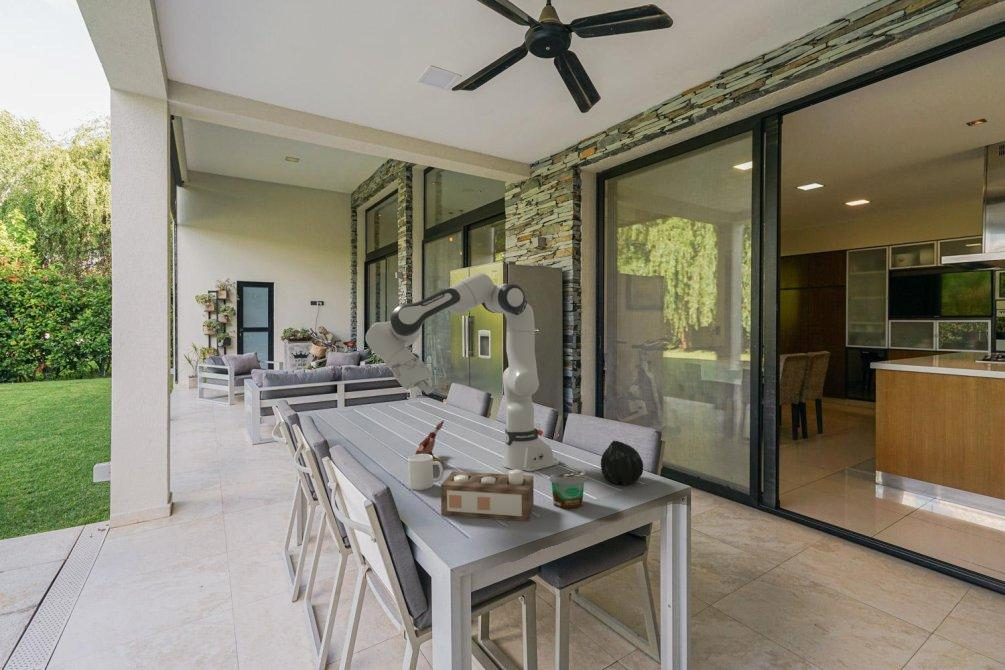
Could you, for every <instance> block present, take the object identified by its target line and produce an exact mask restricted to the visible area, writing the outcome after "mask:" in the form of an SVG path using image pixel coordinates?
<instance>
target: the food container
mask: <svg viewBox="0 0 1005 670" xmlns="http://www.w3.org/2000/svg"><path fill="white" fill-rule="evenodd" d="M548 481H550V482H551V490H552V500H553V506H554V507H555V508H558V509H563V510H576V509H579V508H581V507H582V506H583V500H584V490H585V489H584V488H585V482H586V481H587V474H586V471H585V470H584V469H583V468H582V469H581V471H578V472H565V473H563V474H560V475H555V474H552V473H551V474H550V477H549V480H548Z"/></svg>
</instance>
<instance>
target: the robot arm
mask: <svg viewBox="0 0 1005 670" xmlns="http://www.w3.org/2000/svg"><path fill="white" fill-rule="evenodd" d="M480 305H481V306H482V307H483V308H484V309H485V310H486V311H487V312H489V313H492V314H494V313H495V314H503V315H504V316H505V318H506V341H505V342H506V343H505V344H506V347H505V348H506V355H507V356H506V357H507V362H508V363H507V364H508V367H506V369H505V370H504V371H503V372H502V373H503V374H502V381H503V382H502V383H503V392H504V393H503V394H504V395H503V396H504V403H505V419H506V420H505V422H506V423H505V426H506V427H505V429H504V432H505V433H504V441H505V450H504V455H503V456H504V457H503V460H502V464H501V465H502V466H503V467H504V468H506V469H507V468H508V469H510V470H514V469H518V470H522V471H527V472H533V471H537V470H541V469H545V468H549V467H553V465H554V466H558V465H560V463H559V459H558V458H556V457H555V456H554V455H553V449H552V447H551V446H550V444H549V443H546V442H545V441H544V440H543V439H541V438H540V437H539V436H543V435H544V432H543V430H541V429H537V428H535V407H534V404H533V399H532V395H534V394H535V393H537V391H538V389H539V387H540V380H539V376H538V369H537V368H538V367H537V361H536V352H535V351H536V347H535V346H536V345H535V342H536V339H535V338H536V337H535V336H536V335H535V332H536V331H535V330H536V325H535V316H534V315H535V314H534V311H533V307H532V306H531V305H530V304H528V302H527V299H526V295H525V292H524V290H523V288H522V287H521V286H520V285H518V284H515V283H510V282H509V283H499V284H495V283H494V282H493V280H492V278H491V277H490V276H489V275H488V274H486V273H483V272H482V273H477V274H473V275H470V276H468V277H465V278H464V279H462V280H459V281H458V282H456V283H454V284H453V285H450V287H448V288H445V289H442V290H440V291H438V292H436V293H434V294H432V295H430V296H428V297H425V298H423V299H421V300H419V301H417V302H412V303H411V302H410V303H406V304H400V305H398V306H397V307H396V308H395V309H394V310H393V311H392V312H391V315H390V321H389V320H388V321H383V322H380V321H377V322H375V323H373V324H372V325H371V326H370V327H369V328H368V330H367V331H366V333H365V339H364V340H365V342H366V344H367V346H368V347H369V348H370V349H371V350H372V352H373V353H374V354H375V355H376V356H377V357H378V358H379V359H381V360H382V361H383V362H384V365H385V366H386V367H387V369H389V370H390V371H391V372H392V375H393V377H394V378H395V379H396V381H397V382H398V383H399V384H400V386H401V387H402V388H404V389H405V390H406V391H407V390H410V389H413V388H415V387H417V388H418V390H421V391H422V392H424V393H425V394H426V395H430V394H432V392H434V388H432V386H431V385H430V383H429V381H431V379H432V378H433V377H434V374H433V371H432V370H431V369H430V368H429V367H428V365H426V364H425V363H424V361H422V360H421V356H420V355H419V354H418V353H414V352H412V351H410V350H409V349H408V347H409V346H411V345H413V344H414V343H415V342H417V340H419V337H420V334H421V327H422V325H423V324H424V323H425V321H427V320H428V319H430V318H432V317H433V316H436V315H438V314H440V313H442V312H443V311H446V310H448V311H449V312H450V313H452V314H455V315H462V314H465V313H467V312H469V311H471V310H473V309H475V308H477V307H478V306H480Z"/></svg>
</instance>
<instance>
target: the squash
mask: <svg viewBox="0 0 1005 670" xmlns="http://www.w3.org/2000/svg"><path fill="white" fill-rule="evenodd" d="M600 470H601V473H602V475H603V477H604V478H605V479H606V480H608V481H609V482H610V483H611V482H613V484H615V485H620V484H622V485H624V486H625V485H626V486H627V485H628V486H629V484H631V483H634V482H635V483H636V482H637V481H638V480H639V479H640V478H641V476H643V472H644V462H643V460H642V457H641V454H639V452H638V451H637V450H636V449H635V448H634V447H632V446H630V445H629V444H626V443H624V442H622V441H619V440H612V442H610V444H609V445H608V447H607V448H606V449H605V451H604V452H603V454H602V456H601V459H600Z"/></svg>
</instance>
